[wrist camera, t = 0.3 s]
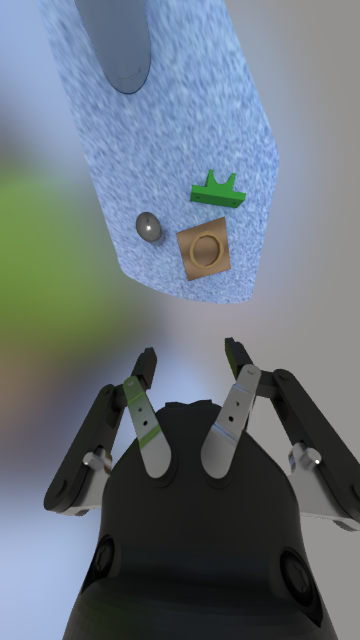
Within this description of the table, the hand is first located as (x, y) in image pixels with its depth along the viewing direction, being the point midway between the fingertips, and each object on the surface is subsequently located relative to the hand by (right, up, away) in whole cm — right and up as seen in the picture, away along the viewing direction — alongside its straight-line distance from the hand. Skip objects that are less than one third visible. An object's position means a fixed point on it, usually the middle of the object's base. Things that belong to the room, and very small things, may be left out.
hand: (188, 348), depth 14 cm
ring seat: (+6, +21, +20) cm, 30 cm away
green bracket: (+7, +32, +16) cm, 37 cm away
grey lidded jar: (-7, +25, +19) cm, 32 cm away
